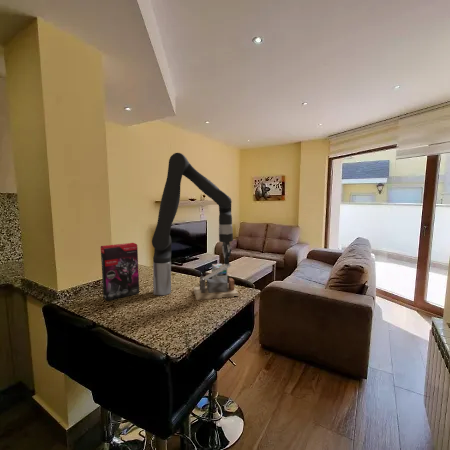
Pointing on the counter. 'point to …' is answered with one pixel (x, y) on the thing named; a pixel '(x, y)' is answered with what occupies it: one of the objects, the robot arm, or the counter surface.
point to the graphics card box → (119, 270)
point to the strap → (217, 271)
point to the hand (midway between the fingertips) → (226, 264)
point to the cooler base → (213, 295)
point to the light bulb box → (221, 274)
